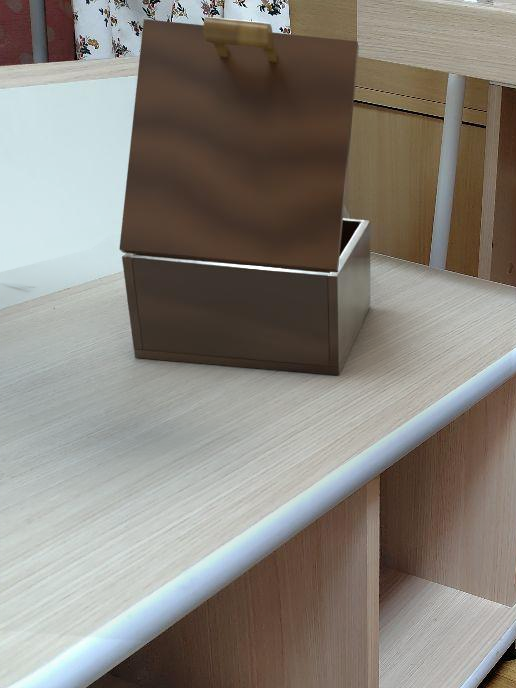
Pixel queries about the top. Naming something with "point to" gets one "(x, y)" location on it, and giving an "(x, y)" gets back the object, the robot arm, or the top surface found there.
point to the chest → (250, 309)
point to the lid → (239, 145)
